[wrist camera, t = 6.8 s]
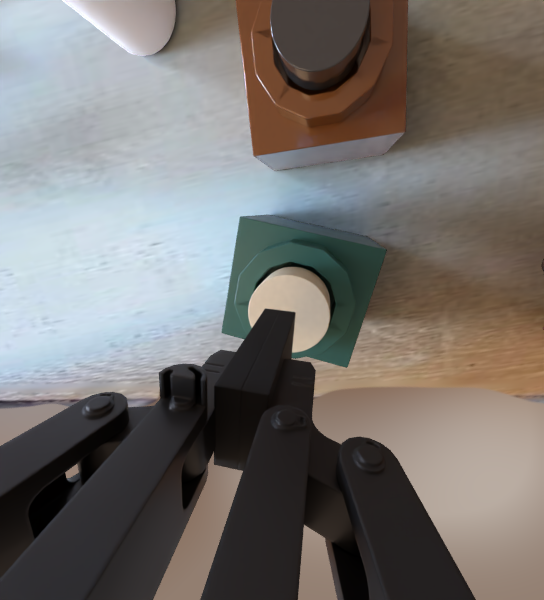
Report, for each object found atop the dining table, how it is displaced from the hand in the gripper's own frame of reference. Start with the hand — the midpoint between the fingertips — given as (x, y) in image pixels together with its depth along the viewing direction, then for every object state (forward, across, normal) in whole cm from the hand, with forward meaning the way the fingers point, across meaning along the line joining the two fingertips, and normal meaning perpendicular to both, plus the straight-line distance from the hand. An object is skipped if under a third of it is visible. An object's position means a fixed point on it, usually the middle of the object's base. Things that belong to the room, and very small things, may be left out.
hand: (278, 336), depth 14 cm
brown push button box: (+17, 0, +15) cm, 23 cm away
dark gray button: (+7, 0, +15) cm, 17 cm away
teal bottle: (+17, 0, 0) cm, 17 cm away
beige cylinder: (+5, 0, 0) cm, 5 cm away
